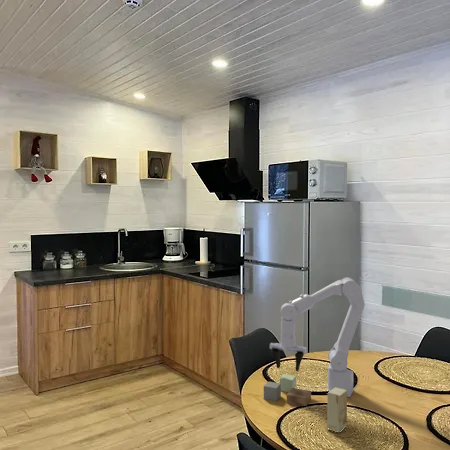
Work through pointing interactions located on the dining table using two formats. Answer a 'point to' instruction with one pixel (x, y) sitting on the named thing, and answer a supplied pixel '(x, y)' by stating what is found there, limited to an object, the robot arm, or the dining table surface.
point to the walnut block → (298, 397)
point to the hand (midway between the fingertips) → (287, 368)
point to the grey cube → (272, 391)
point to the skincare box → (337, 409)
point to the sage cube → (287, 382)
